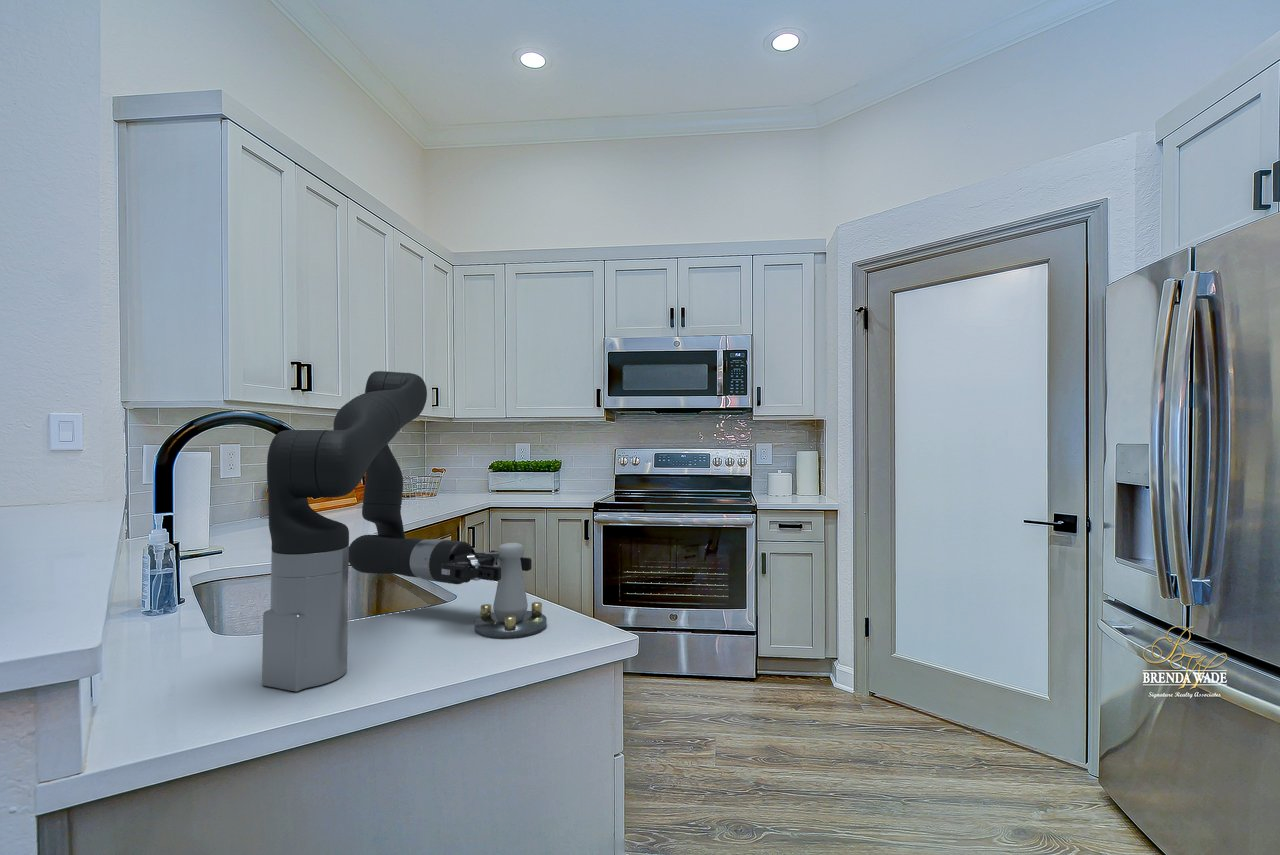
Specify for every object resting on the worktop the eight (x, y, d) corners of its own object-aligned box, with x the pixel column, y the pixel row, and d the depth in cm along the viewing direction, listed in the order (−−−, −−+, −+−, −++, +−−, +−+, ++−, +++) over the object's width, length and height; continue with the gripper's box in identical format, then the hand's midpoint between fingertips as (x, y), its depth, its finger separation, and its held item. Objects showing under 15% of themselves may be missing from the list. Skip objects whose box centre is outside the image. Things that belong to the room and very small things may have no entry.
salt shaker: (508, 627, 99) (508, 547, 99) (485, 621, 102) (486, 544, 103) (534, 619, 104) (535, 543, 104) (512, 613, 107) (512, 539, 107)
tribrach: (523, 642, 95) (523, 622, 95) (459, 633, 99) (460, 614, 99) (558, 621, 107) (558, 602, 107) (500, 614, 111) (500, 596, 111)
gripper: (413, 546, 103) (489, 554, 96) (469, 534, 116) (539, 540, 109) (412, 590, 103) (488, 601, 96) (468, 573, 116) (539, 582, 109)
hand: (515, 569), depth 103 cm, fingers open, 8 cm apart
